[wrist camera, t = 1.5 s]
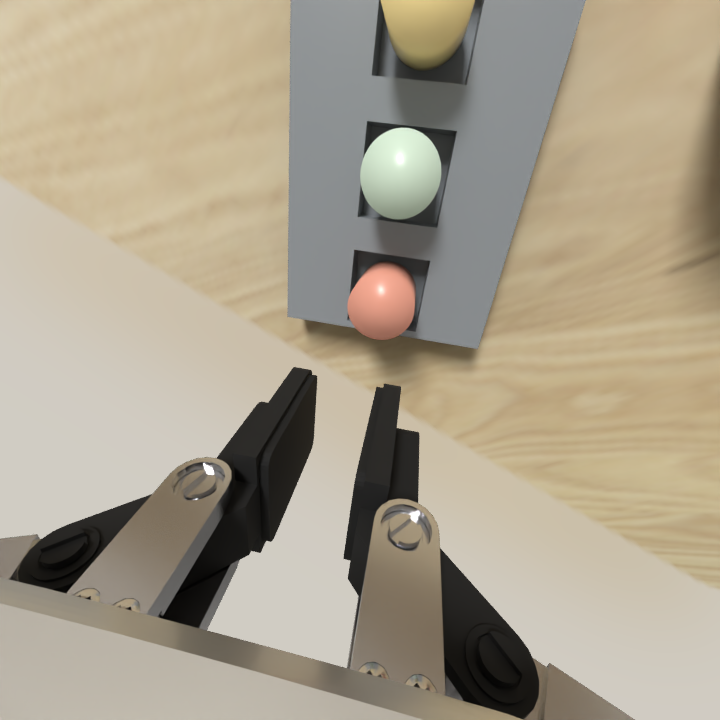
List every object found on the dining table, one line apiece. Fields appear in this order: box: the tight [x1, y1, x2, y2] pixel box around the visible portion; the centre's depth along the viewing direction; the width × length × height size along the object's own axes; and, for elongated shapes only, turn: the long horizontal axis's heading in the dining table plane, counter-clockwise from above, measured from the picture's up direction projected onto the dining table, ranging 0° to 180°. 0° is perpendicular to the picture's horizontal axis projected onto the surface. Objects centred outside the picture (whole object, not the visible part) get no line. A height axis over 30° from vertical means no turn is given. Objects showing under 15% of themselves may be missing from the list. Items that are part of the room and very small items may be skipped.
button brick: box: [347, 261, 416, 340], centre depth 22 cm, size 4×4×4 cm
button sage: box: [360, 128, 441, 219], centre depth 19 cm, size 4×4×4 cm
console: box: [288, 0, 586, 349], centre depth 21 cm, size 14×20×3 cm
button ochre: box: [381, 0, 475, 71], centre depth 15 cm, size 4×4×4 cm
